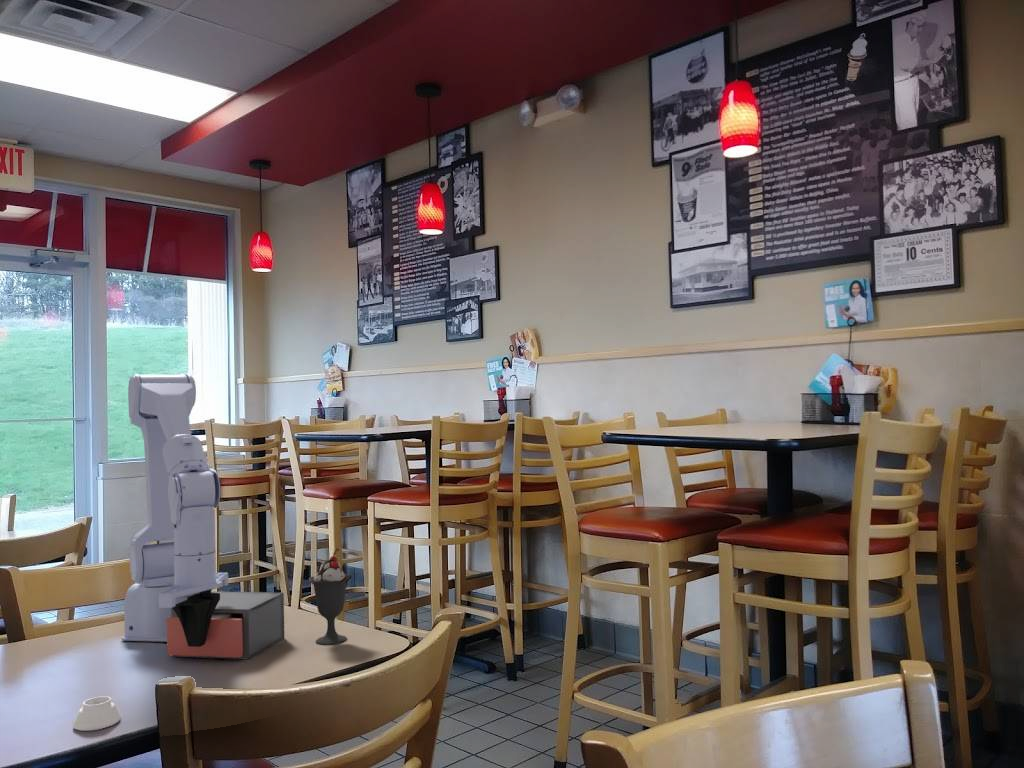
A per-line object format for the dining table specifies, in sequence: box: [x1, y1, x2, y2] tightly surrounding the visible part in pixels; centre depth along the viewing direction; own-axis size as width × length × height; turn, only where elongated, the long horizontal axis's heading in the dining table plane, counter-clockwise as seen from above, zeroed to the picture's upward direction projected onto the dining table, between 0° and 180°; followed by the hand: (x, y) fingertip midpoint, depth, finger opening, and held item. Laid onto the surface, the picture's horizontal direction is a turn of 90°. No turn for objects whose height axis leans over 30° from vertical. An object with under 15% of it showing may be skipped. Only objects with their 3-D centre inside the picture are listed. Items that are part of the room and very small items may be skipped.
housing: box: [171, 591, 285, 660], centre depth 126 cm, size 13×11×7 cm
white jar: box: [72, 695, 122, 732], centre depth 96 cm, size 5×3×5 cm
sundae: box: [308, 547, 352, 646], centre depth 128 cm, size 7×7×15 cm
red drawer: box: [166, 617, 243, 657], centre depth 124 cm, size 12×11×6 cm
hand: (196, 645), depth 117 cm, fingers closed
